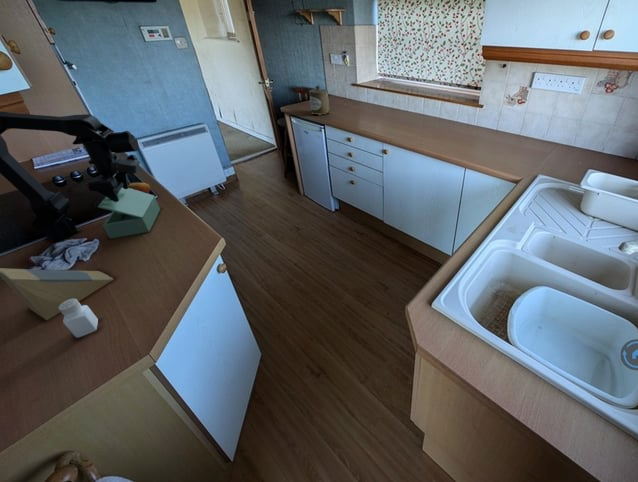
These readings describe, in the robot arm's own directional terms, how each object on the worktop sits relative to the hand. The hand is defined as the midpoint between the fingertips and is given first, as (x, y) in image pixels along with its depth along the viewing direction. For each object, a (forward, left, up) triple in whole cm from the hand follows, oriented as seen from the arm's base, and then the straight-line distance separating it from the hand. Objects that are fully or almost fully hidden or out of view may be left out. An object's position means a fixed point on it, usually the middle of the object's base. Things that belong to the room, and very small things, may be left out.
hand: (121, 195), depth 104 cm
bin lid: (+1, -1, -3) cm, 3 cm away
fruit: (+14, +17, -12) cm, 25 cm away
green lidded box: (0, 0, -12) cm, 12 cm away
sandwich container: (-29, -17, -12) cm, 36 cm away
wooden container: (+158, +11, -12) cm, 159 cm away
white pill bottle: (-35, -33, -12) cm, 50 cm away
